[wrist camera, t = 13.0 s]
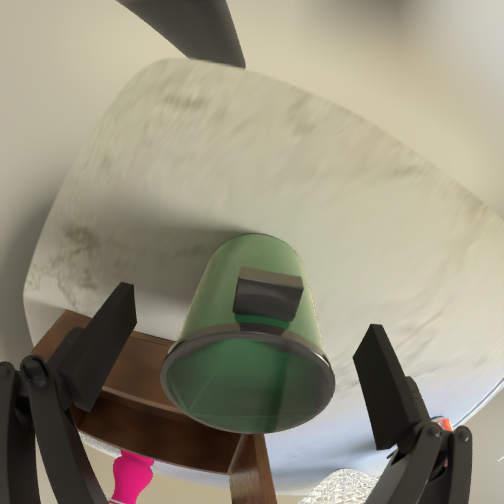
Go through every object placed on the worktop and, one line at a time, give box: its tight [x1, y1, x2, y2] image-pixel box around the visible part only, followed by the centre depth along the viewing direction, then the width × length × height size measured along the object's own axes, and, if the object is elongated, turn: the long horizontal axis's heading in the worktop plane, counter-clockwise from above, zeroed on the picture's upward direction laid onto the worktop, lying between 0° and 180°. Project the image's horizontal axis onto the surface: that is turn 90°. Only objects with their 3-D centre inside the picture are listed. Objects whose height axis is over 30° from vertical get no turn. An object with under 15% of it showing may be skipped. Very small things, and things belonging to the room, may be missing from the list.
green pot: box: [160, 234, 335, 434], centre depth 15 cm, size 10×8×10 cm
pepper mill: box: [108, 449, 154, 504], centre depth 27 cm, size 7×7×20 cm
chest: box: [31, 310, 249, 476], centre depth 22 cm, size 20×15×7 cm
